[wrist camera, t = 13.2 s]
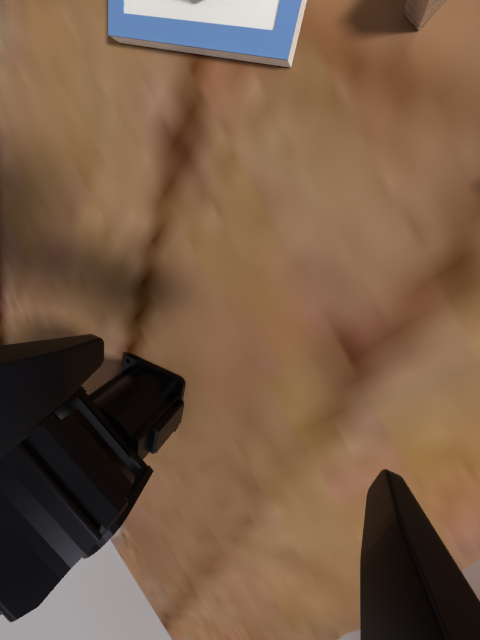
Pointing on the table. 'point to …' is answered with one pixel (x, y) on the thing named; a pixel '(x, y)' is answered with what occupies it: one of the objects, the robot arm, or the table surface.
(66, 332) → the table surface
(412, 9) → the grey u-shaped bracket
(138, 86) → the table surface
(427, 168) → the table surface
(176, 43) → the white tile
